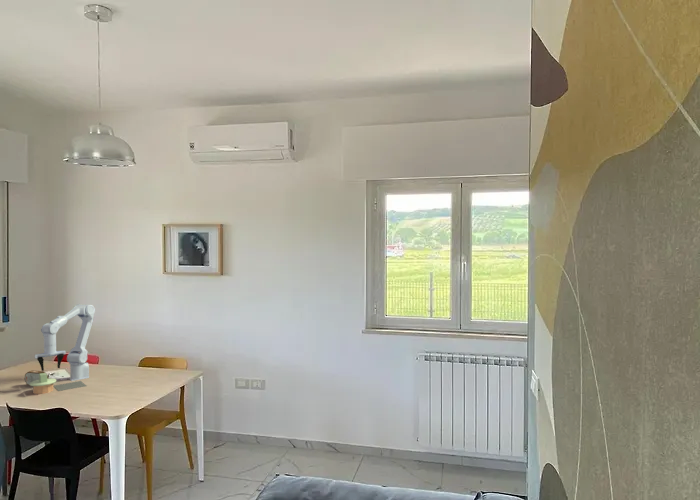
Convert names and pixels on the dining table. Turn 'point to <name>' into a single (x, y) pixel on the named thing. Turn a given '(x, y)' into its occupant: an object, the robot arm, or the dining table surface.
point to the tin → (33, 376)
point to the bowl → (43, 389)
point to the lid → (42, 380)
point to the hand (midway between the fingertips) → (50, 369)
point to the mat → (69, 386)
